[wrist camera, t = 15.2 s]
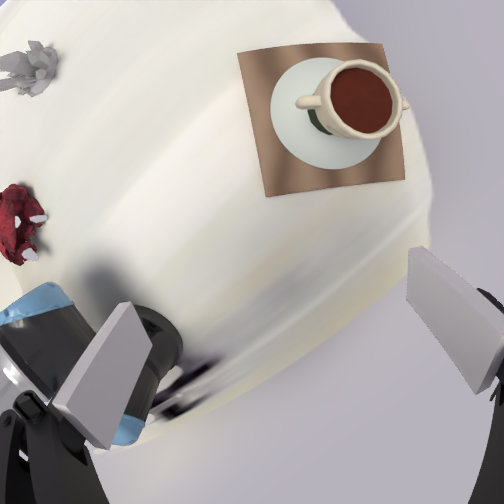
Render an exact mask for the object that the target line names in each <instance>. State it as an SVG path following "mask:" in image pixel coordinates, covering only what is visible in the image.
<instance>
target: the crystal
mask: <svg viewBox="0 0 504 504" xmlns="http://www.w3.org/2000/svg"><path fill="white" fill-rule="evenodd" d="M28 43H29V46H30V48H31V50H32V51H26V52H27V54H28V55H27V54H25V53H22V52H19V51H16V52H13V53H10V54H7V55H4V56H1V57H0V71H7V72H11V73H10V74H8V75H7V76H9V77H12V78H7V79H2V80H0V92H1V91H4V90H8V89H11V88H15V87H20V88H22V87H23V89H22V90H20V92H19V93H18V94H21V95H24V94H26V93H27V94H28V95H30V96H31V97H33V96H36V95H38V94H40V93H43V91H44V90H45V89H46V88H47V87H48V86H49V84H50V82H51V81H52V79H53V77H54V74H55V69H56V66H57V62H58V58H57V54H56V50H55V49H52V48H50V47H46V48H43V46H42V44H41V43H40V42H39V41H28ZM20 75H22V76H20Z"/></svg>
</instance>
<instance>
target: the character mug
mask: <svg viewBox="0 0 504 504" xmlns="http://www.w3.org/2000/svg"><path fill="white" fill-rule="evenodd" d="M295 106H296V108H298V109H301V110H307V109H308V110H307V112H308V115H309V118H310V122H311V123H312V124H313V125H314V126H315V127H316V128H317V129H318V131H320V132H323V133H325V134H327V135H333V134H334V135H335V136H337V137H341V138H345V139H353V140H357V139H359V140H360V139H361V140H373V139H379V138H382V137H385V136H387V135H388V134H389V133H390V132H391V131H393V130H394V129H395V128H396V126H397V124H398V122H399V121H400V119H401V117H402V110H406V109H409V108H410V103H409V101H407V100H405V99H403V98H402V95H401V92H400V89H399V86H398V84H397V83H396V82H395V80H394V79H393V77H392V76H391V75H390V73H389V72H387V71H386V70H384V69H383V68H382V67H380V66H379V65H377V64H376V63H373V62H369V61H366V60H362V59H357V60H349V61H345V62H343V63H342V64H340V65H339V66H337V67H335V68H334V69H332V70H331V71H330V72H329V73H328V74H327V75H326V76H325V77H324V78H323V79H322V80H321V81H320V83H319V85H318V86H317V88H316V90H315V92H314V94H313V95H306V96H301V97H299V98H298V99H297V100H296V102H295Z"/></svg>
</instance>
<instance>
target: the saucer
mask: <svg viewBox="0 0 504 504" xmlns="http://www.w3.org/2000/svg"><path fill="white" fill-rule="evenodd" d="M343 62H344V61H341V60H337V59H333V58H312V59H308V60H304V61H302V62H300V63H297V64H296V65H294V66H292V67H291V68H290V69H288V70H287V71H286V72H285V73H284V74H283V75H282V76H281V78H280V79H279V81H278V82H277V84H276V86H275V88H274V91H273V94H272V98H271V105H270V113H271V120H272V124H273V127H274V130H275V132H276V134H277V136H278V138H279V139H280V141H281V142H282V144H283V145H284V146H285V147H286V148H287V149H288V150H289V151H290V152H291V153H292V154H293V155H294V156H296V157H297V158H299V159H300V160H302V161H303V162H306V163H308V164H310V165H312V166H315V167H319V168H324V169H342V168H347V167H351V166H354V165H356V164H358V163H360V162H361V161H363V160H364V159H366V158H367V157H368V156H369V155H370V154H371V153H372V152H373V151H374V150H375V149H376V147H377V145H378V144H379V142H380V140H381V138H379V139H373V140H361V139H360V140H359V139H357V140H353V139H345V138H341V137H337V136H335V135H334V134H333V135H327V134H325V133H323V132H320V131H318V129H317V128H316V127H315V126H314V125H313V124H312V123H311V122H310V118H309V115H308V112H307V110H308V109H307V110H301V109H298V108H296V106H295V102H296V100H297V99H298V98H299V97H301V96H306V95H313V94H314V92H315V90H316V88H317V86H318V85H319V83H320V81H321V80H322V79H323V78H324V77H325V76H326V75H327V74H328V73H329V72H330V71H331V70H332V69H334V68H335V67H337V66H339V65H340V64H342V63H343Z"/></svg>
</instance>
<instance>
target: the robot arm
mask: <svg viewBox="0 0 504 504" xmlns="http://www.w3.org/2000/svg"><path fill="white" fill-rule="evenodd" d="M406 300H407V301H408V302H409V304H410V305H411V306H412V307H413V309H414V310H415V311H416V313H417V314H418V315H419V316H420V318H421V319H422V320H423V321H424V323H425V324H426V325H427V327H428V328H429V329H430V331H431V332H432V333H433V335H434V336H435V337H436V338H437V340H438V341H439V343H440V344H441V345H442V347H443V348H444V350H445V351H446V352H447V354H448V355H449V357H450V358H451V359H452V361H453V362H454V364H455V365H456V367H457V368H458V370H459V371H460V373H461V374H462V376H463V377H464V378H465V380H466V382H467V383H468V385H469V386H470V388H471V389H472V391H473V393H474V394H475V395H477V394H479V393H480V392H482V391H484V390H485V389H487V388H489V387H490V386H491V384H492V382H493V380H494V378H495V376H497V377H498V379H499V380H500V381H499V383H498V385H497V387H496V388H495V390H494V392H493V394H492V395H491V398H490V401H492V400H493V398H494V397H495V395H496V400H495V407H494V413H493V419H492V424H491V430H490V434H489V439H488V443H487V448H486V451H485V455H484V459H483V462H482V465H481V469H480V472H479V476H478V478H477V482H476V484H475V487H474V489H473V492H472V495H471V497H470V500H469V502H468V504H504V307H503V305H502V304H501V303H500V302H499V301H497V299H496V298H494V297H493V296H492V295H491V294H490V293H489V292H486V291H484V290H482V289H480V288H477V289H475V288H474V287H473V286H472V285H470V283H468V282H467V281H466V280H465V279H464V278H462V277H461V276H460V275H459V274H457V273H456V272H455V271H454V270H452V269H451V268H450V267H449V266H448V265H446V264H445V263H444V262H443V261H441V260H440V259H439V258H437V257H436V256H435V255H433V254H432V253H431V252H430V251H428V250H427V249H426V248H424V247H423V246H419V247H415V248H411V249H409V261H408V283H407V296H406ZM181 352H182V341H181V338H180V336H179V334H178V332H177V330H176V329H175V327H174V326H173V325H172V324H171V323H170V322H169V321H168V320H167V319H166V318H164V317H163V316H162V315H160V314H159V313H157V312H155V311H153V310H151V309H148V308H145V307H141V306H133V304H132V301H130V302H123V303H119V304H118V305H117V307H116V308H115V309H114V311H113V312H112V313H111V315H110V316H109V317H108V319H107V320H106V322H105V323H104V324H103V326H102V327H101V328H100V330H99V331H98V333H97V334H96V333H95V331H94V330H93V329H92V328H91V327H90V325H89V324H88V323H87V321H86V320H85V319H84V318H83V316H82V315H81V314H80V312H79V311H78V310H77V308H76V307H75V306H74V302H73V301H71V300H70V299H69V298H68V296H67V295H66V294H65V293H64V291H63V290H62V289H61V287H60V286H59V285H58V284H56V283H54V282H47V283H44V284H42V285H40V286H39V287H37V288H35V289H33V290H32V291H30V292H29V293H27V294H25V295H24V296H22V297H21V298H19V299H18V300H16V301H15V302H13V303H12V304H11V305H9V306H8V307H7V308H6V309H4V310H3V311H1V312H0V504H109V501H108V499H107V497H106V495H105V493H104V490H103V488H102V485H101V483H100V481H99V478H98V475H97V473H96V470H95V467H94V465H93V462H92V459H91V456H90V453H89V450H88V449H87V447H86V446H85V445H84V442H85V440H86V439H87V440H88V441H89V442H90V443H91V444H92V445H93V446H94V447H96V448H101V449H105V450H110V447H111V444H114V445H120V446H127V445H131V444H133V443H135V442H136V441H137V440H138V438H139V435H140V433H141V431H142V429H143V428H144V427H145V422H146V419H147V416H148V413H149V410H150V407H151V405H152V402H153V399H154V396H155V394H156V391H157V388H158V386H159V383H160V380H161V379H162V378H163V377H164V376H165V375H166V374H167V372H168V371H169V370H171V369H172V368H173V367H174V366H175V365H176V364H177V362H178V360H179V357H180V355H181ZM51 398H52V399H51ZM50 399H51V400H50ZM49 400H50V402H49V404H48V405H47V406H46V405H45V404H44V402H48V401H49ZM19 449H20V450H21V451H22V452H23V453H24V454H25V455H26V456H28V461H25V460H24V459H23V458H22V457H20V456H19Z"/></svg>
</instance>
